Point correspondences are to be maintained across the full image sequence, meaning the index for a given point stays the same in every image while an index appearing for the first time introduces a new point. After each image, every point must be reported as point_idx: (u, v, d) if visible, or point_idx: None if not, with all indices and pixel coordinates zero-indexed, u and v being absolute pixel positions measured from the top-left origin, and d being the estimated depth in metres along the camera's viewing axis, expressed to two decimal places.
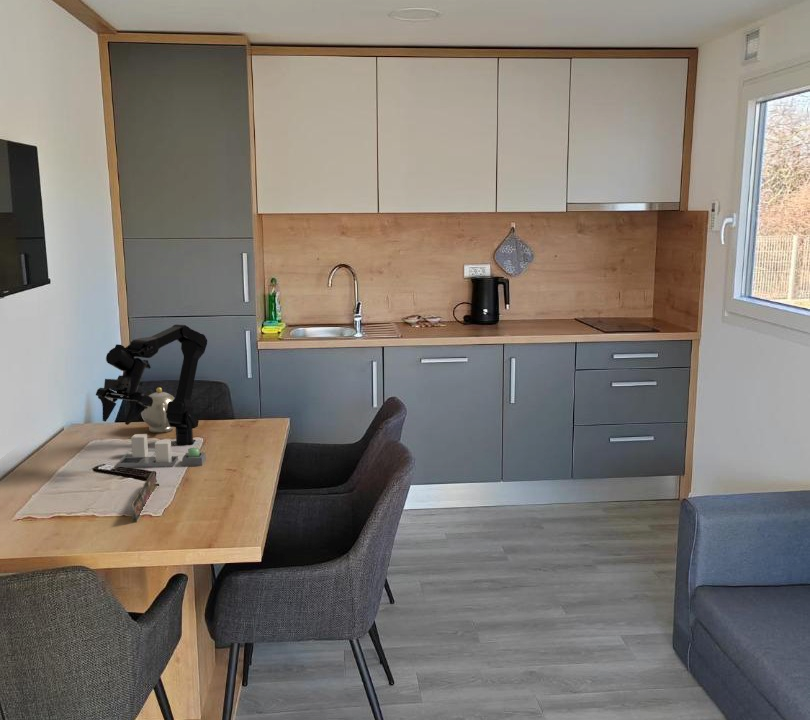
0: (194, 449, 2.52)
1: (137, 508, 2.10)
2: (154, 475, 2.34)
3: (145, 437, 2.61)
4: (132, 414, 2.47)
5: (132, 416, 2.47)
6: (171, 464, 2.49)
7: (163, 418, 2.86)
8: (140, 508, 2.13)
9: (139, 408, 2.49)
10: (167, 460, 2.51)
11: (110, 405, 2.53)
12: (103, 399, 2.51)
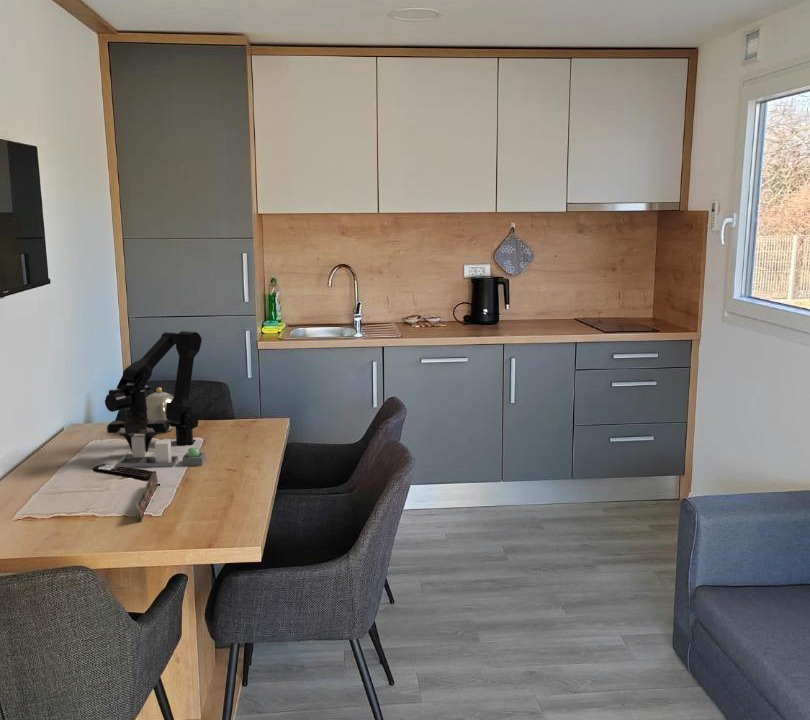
0: (194, 449, 2.52)
1: (141, 508, 2.10)
2: (155, 475, 2.34)
3: (145, 437, 2.61)
4: (149, 442, 2.61)
5: (149, 443, 2.62)
6: (171, 464, 2.49)
7: (163, 418, 2.86)
8: (144, 508, 2.13)
9: None
10: (167, 460, 2.51)
11: (131, 435, 2.62)
12: (127, 435, 2.58)
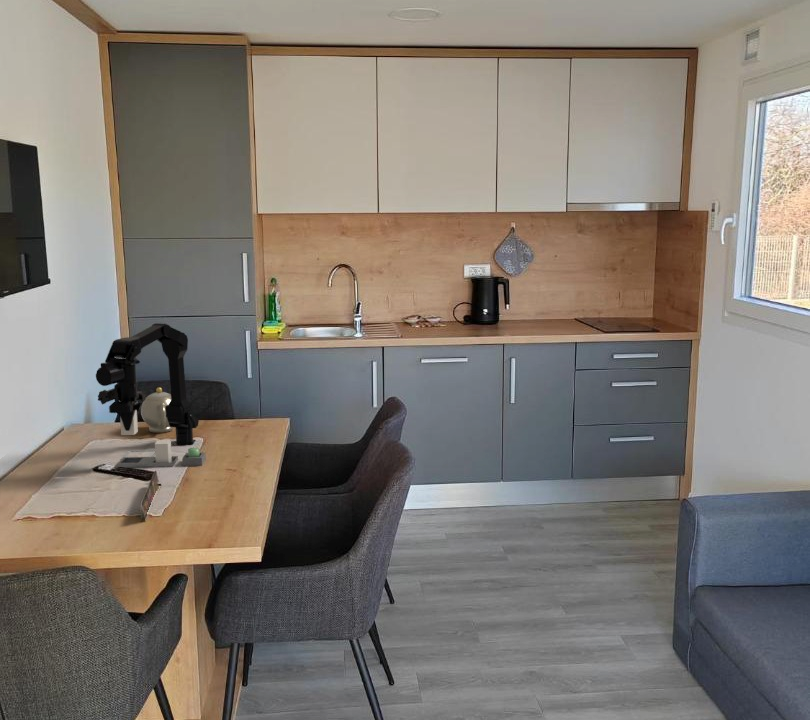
0: (194, 449, 2.52)
1: (144, 508, 2.10)
2: (156, 475, 2.34)
3: None
4: (125, 420, 2.47)
5: (126, 422, 2.47)
6: (171, 464, 2.49)
7: (163, 418, 2.86)
8: (147, 508, 2.13)
9: (129, 413, 2.46)
10: (167, 460, 2.51)
11: (132, 409, 2.52)
12: None
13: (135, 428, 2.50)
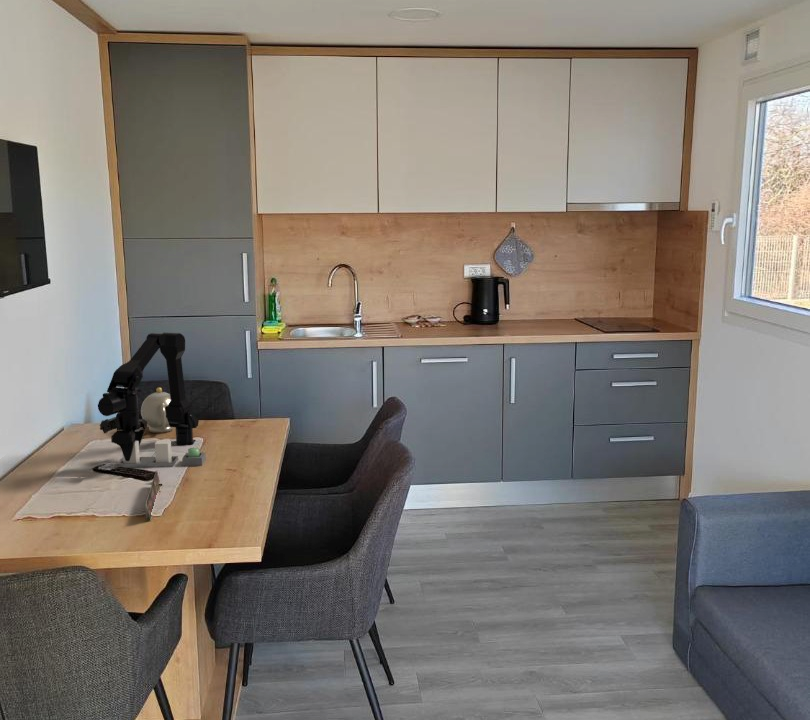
0: (194, 449, 2.52)
1: (149, 507, 2.11)
2: (157, 475, 2.34)
3: None
4: (125, 451, 2.46)
5: (126, 453, 2.47)
6: (171, 464, 2.49)
7: (163, 418, 2.86)
8: (151, 507, 2.13)
9: (129, 443, 2.45)
10: (167, 460, 2.51)
11: (136, 436, 2.56)
12: None
13: (137, 459, 2.52)
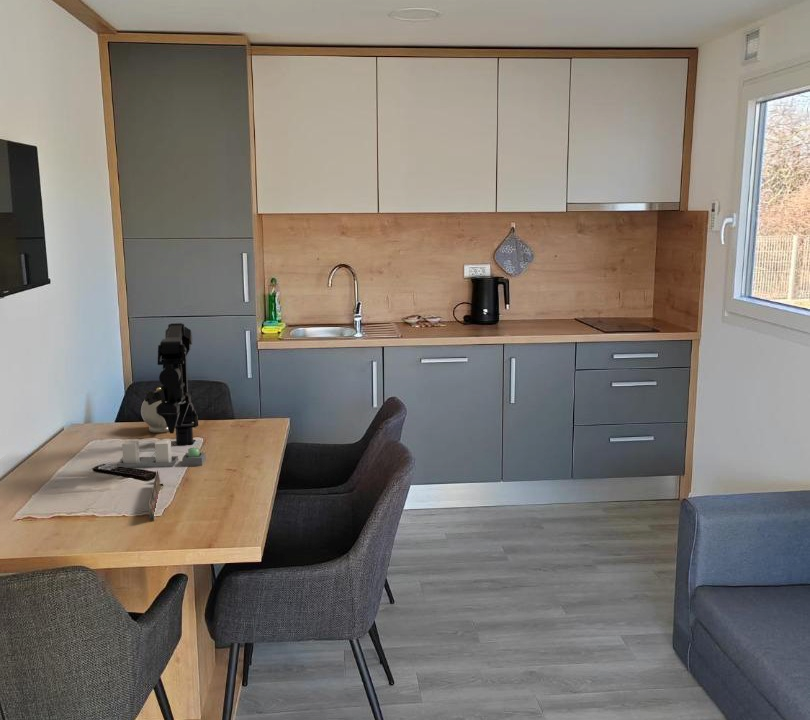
0: (194, 449, 2.52)
1: (152, 507, 2.11)
2: (158, 475, 2.34)
3: (128, 446, 2.49)
4: (169, 423, 2.45)
5: (170, 425, 2.45)
6: (171, 464, 2.49)
7: (163, 418, 2.86)
8: (154, 507, 2.13)
9: (173, 415, 2.44)
10: (167, 460, 2.51)
11: (180, 409, 2.55)
12: None
13: (137, 459, 2.52)
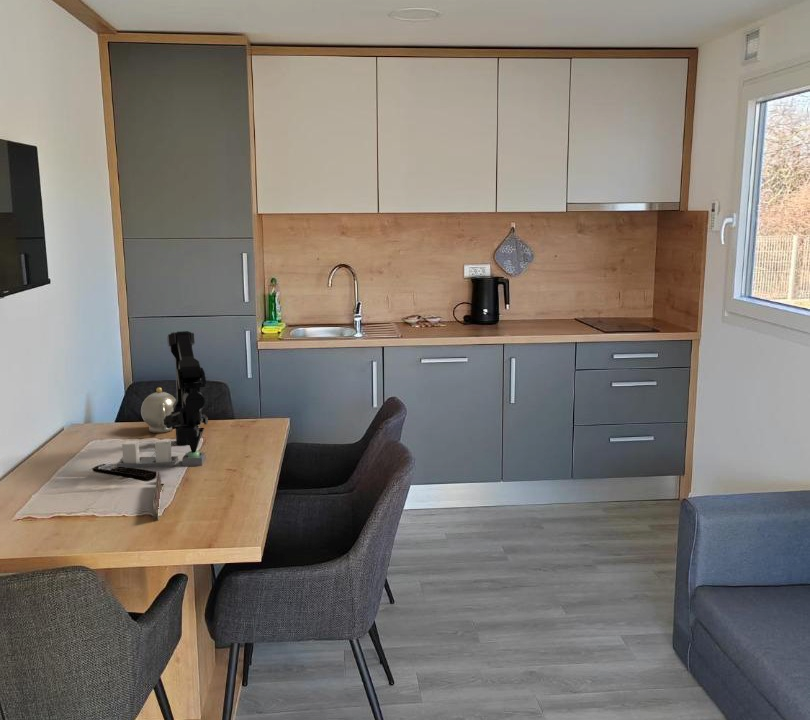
0: (194, 452, 2.53)
1: (156, 507, 2.11)
2: (159, 475, 2.34)
3: (128, 446, 2.49)
4: (191, 443, 2.51)
5: (193, 444, 2.51)
6: (171, 464, 2.49)
7: (163, 418, 2.86)
8: (157, 507, 2.14)
9: None
10: (167, 460, 2.51)
11: None
12: None
13: (137, 459, 2.52)
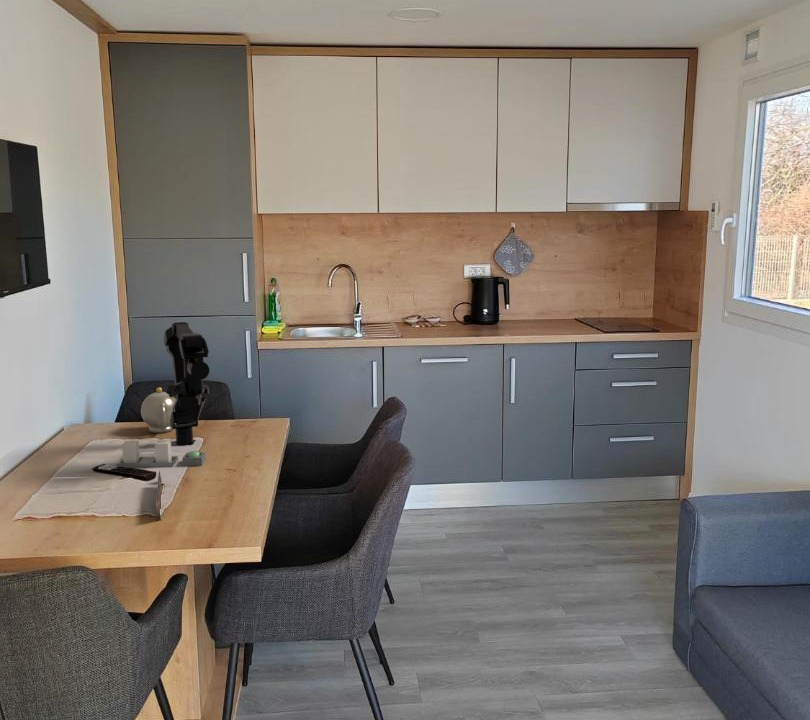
0: (194, 452, 2.53)
1: (158, 507, 2.11)
2: (160, 475, 2.34)
3: (128, 446, 2.49)
4: (193, 412, 2.57)
5: (195, 413, 2.57)
6: (171, 464, 2.49)
7: (163, 418, 2.86)
8: (159, 507, 2.14)
9: None
10: (167, 460, 2.51)
11: None
12: None
13: (137, 459, 2.52)
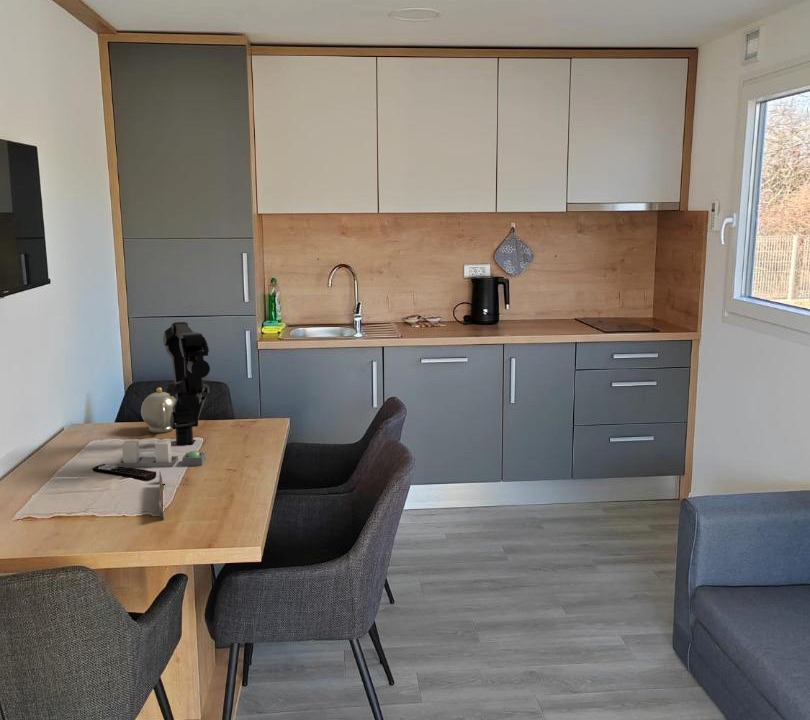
0: (194, 452, 2.53)
1: (161, 506, 2.11)
2: (160, 475, 2.34)
3: (128, 446, 2.49)
4: (193, 410, 2.57)
5: (195, 412, 2.58)
6: (171, 464, 2.49)
7: (163, 418, 2.86)
8: (162, 506, 2.14)
9: None
10: (167, 460, 2.51)
11: None
12: None
13: (137, 459, 2.52)
